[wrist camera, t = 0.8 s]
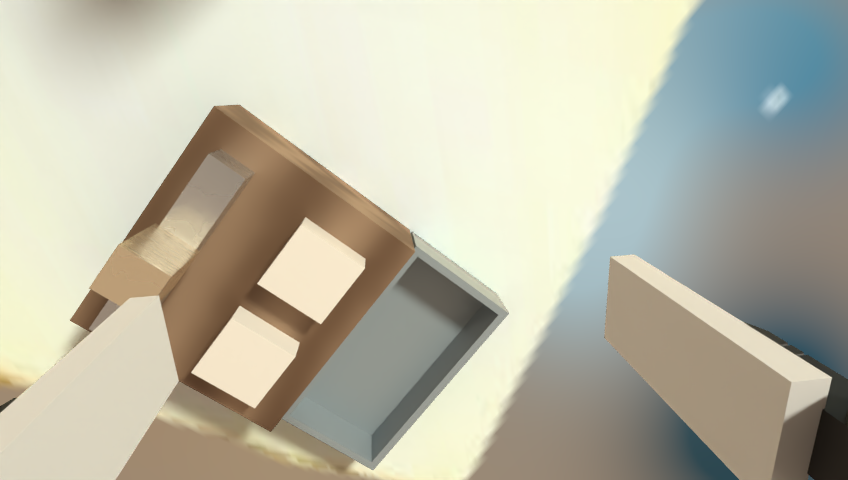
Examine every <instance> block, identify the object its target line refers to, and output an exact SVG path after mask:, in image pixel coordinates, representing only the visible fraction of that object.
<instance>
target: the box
mask: <svg viewBox="0 0 848 480" xmlns="http://www.w3.org/2000/svg"><path fill="white" fill-rule="evenodd" d="M411 238H412V241H413V245H414V249H415V253H414V254H413V255H412V256H411V258H410V259H409V260H408V261H407V263H406V264H405V265H404V266H403V268H402V269H401V270H400V271H399V273H398V274H397V275H396V276H395V278H394V279H393V280H392V281H391V283H390V284H389V285H388V286H387V288H386V289H385V290H384V291H383V293H382V294H381V295H380V296H379V298H378V299H377V300H376V301H375V303H374V304H373V305H372V306H371V308H370V309H369V310H368V311H367V313H366V314H365V315H364V316H363V318H362V319H361V320H360V321H359V323H358V324H357V325H356V326H355V328H354V329H353V330H352V331H351V333H350V334H349V335H348V336H347V337H346V339H345V340H344V341H343V342H342V344H341V345H340V346H339V347H338V349H337V350H336V351H335V352H334V354H333V355H332V356H331V357H330V359H329V360H328V361H327V362H326V364H325V365H324V366H323V367H322V369H321V370H320V371H319V372H318V374H317V375H316V376H315V377H314V379H313V380H312V381H311V382H310V384H309V385H308V386H307V387H306V389H305V390H304V391H303V392H302V394H301V395H300V396H299V397H298V399H297V400H296V401H295V402H294V404H293V405H292V406H291V407H290V409H289V410H288V411H287V412H286V414H285V415H284V416H283V417H282V419H283V420H285V421H287V422H288V423H290V424H292V425H294V426H295V427H297V428H299V429H301V430H302V431H304V432H306V433H308V434H310V435H311V436H313V437H315V438H317V439H318V440H320V441H322V442H324V443H325V444H327V445H329V446H331V447H333V448H334V449H336V450H338V451H340V452H341V453H343V454H345V455H347V456H348V457H350V458H352V459H354V460H356V461H357V462H359V463H361V464H363V465H364V466H366V467H368V468H370V469H371V470H374V469H375V468H376V466H377V465H378V464H379V463H380V462H381V461H382V459H383V458H384V457H385V456H386V455H387V454H388V453H389V451H390V450H391V449H392V448H393V447H394V446H395V444H396V443H397V442H398V441H399V440H400V439H401V438H402V436H403V435H404V434H405V433H406V432H407V431H408V429H409V428H410V427H411V426H412V425H413V424H414V423H415V421H416V420H417V419H418V418H419V417H420V416H421V414H422V413H423V412H424V411H425V410H426V409H427V408H428V406H429V405H430V404H431V403H432V402H433V401H434V399H435V398H436V397H437V396H438V395H439V394H440V393H441V391H442V390H443V389H444V388H445V387H446V386H447V384H448V383H449V382H450V381H451V380H452V379H453V377H454V376H455V375H456V374H457V373H458V372H459V371H460V369H461V368H462V367H463V366H464V365H465V364H466V362H467V361H468V360H469V359H470V358H471V357H472V356H473V354H474V353H475V352H476V351H477V350H478V349H479V347H480V346H481V345H482V344H483V343H484V342H485V341H486V339H487V338H488V337H489V336H490V335H491V334H492V332H493V331H494V330H495V329H496V328H497V327H498V326H499V324H500V323H501V322H502V321H503V320H504V319H505V317H506V316H507V315H508V314H509V313H508V311H507V309H506V308H505V306H504V305H503V303H502V301H501V300H500V298H499V297H498V295H497V294H496V293H495V292H493V291H492V290H491V289H489V288H488V287H487V286H485V285H484V284H483V283H481V282H480V281H479V280H477V279H476V278H474V277H473V276H472V275H470V274H469V273H468V272H466V271H465V270H464V269H462V268H461V267H459V266H458V265H457V264H455V263H454V262H453V261H451V260H450V259H449V258H447V257H446V256H444V255H443V254H442V253H440V252H439V251H438V250H436V249H435V248H434V247H432V246H431V245H430V244H428V243H427V242H425V241H424V240H423V239H421V238H420V237H419V236H417V235H416V234H415V233H413V232H412V233H411Z"/></svg>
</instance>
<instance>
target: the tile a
mask: <svg viewBox="0 0 848 480" xmlns="http://www.w3.org/2000/svg"><path fill="white" fill-rule="evenodd" d="M298 347H299V342H298V341H296V340H295V339H293V338H291V337H290V336H288V335H286V334H285V333H283V332H282V331H280V330H278V329H277V328H275V327H273V326H272V325H270V324H269V323H267V322H265V321H264V320H262V319H261V318H259V317H257V316H256V315H254V314H252V313H251V312H249V311H248V310H246V309H244V308H243V307H241V306H239V307H238V309H237V310H236V311H235V313H234V314H233V315H232V317H231V318H230V319H229V321H228V322H227V323H226V325H225V326H224V327H223V329H222V330H221V331H220V333H219V334H218V335H217V337H216V338H215V339H214V341H213V342H212V343H211V345H210V346H209V348H208V349H207V350H206V352H205V353H204V354H203V356H202V357H201V358H200V360H199V361H198V363H197V364H196V366H195V367H194V369H193V370H192V372H191V373H192V374H194V375H196V376H198V377H200V378H201V379H203V380H205V381H207V382H208V383H210V384H212V385H214V386H216V387H217V388H219V389H221V390H223V391H225V392H226V393H228V394H230V395H232V396H233V397H235V398H237V399H239V400H241V401H242V402H244V403H246V404H248V405H249V406H251V407H253V408H256V406H257V405H258V404H259V403H260V401H261V400H262V399H263V397H264V396H265V395H266V394H267V392H268V391H269V390H270V389H271V387H272V386H273V385H274V383H275V382H276V381H277V380H278V378H279V377H280V376H281V375H282V373H283V372H284V371H285V369H286V368H287V367H288V366H289V364H290V363H291V362H292V361H293V359H294V358H295V357H296V353H297V350H298Z"/></svg>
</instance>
